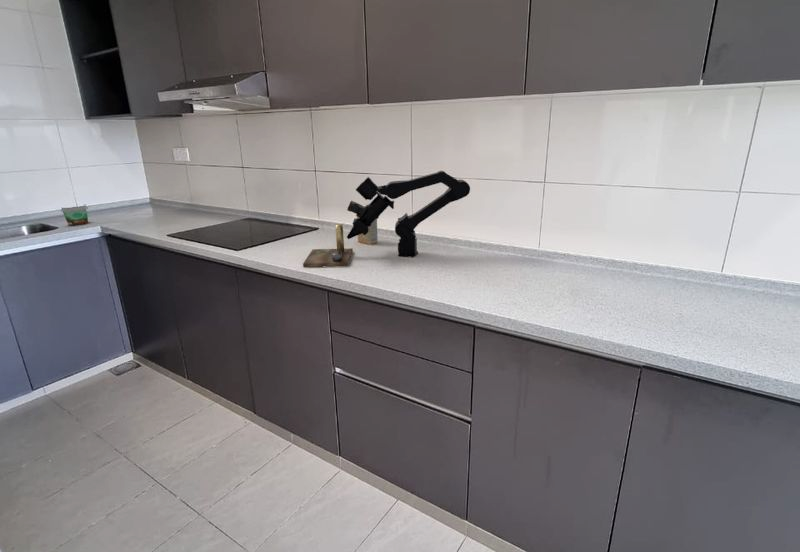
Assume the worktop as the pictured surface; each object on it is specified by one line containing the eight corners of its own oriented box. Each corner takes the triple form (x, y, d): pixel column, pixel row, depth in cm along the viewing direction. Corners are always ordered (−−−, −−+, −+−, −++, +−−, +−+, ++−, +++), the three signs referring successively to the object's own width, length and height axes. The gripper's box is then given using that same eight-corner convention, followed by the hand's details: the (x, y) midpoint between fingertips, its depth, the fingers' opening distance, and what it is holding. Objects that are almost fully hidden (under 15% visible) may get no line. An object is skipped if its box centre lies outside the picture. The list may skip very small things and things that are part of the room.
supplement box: (357, 242, 189) (355, 212, 185) (365, 240, 193) (364, 210, 188) (369, 245, 184) (368, 214, 180) (378, 243, 187) (377, 212, 183)
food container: (70, 227, 233) (65, 208, 230) (65, 226, 236) (60, 207, 233) (95, 222, 243) (91, 204, 240) (90, 221, 246) (85, 204, 243)
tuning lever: (346, 248, 173) (344, 222, 169) (341, 261, 157) (339, 232, 153) (337, 248, 173) (335, 222, 169) (331, 261, 157) (329, 232, 153)
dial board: (352, 252, 175) (352, 247, 174) (347, 266, 157) (347, 262, 156) (312, 252, 175) (312, 248, 174) (303, 267, 157) (302, 263, 156)
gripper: (361, 190, 171) (334, 218, 174) (357, 197, 153) (328, 229, 156) (382, 209, 173) (355, 237, 177) (380, 219, 156) (351, 249, 159)
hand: (347, 237), depth 167 cm, fingers closed
